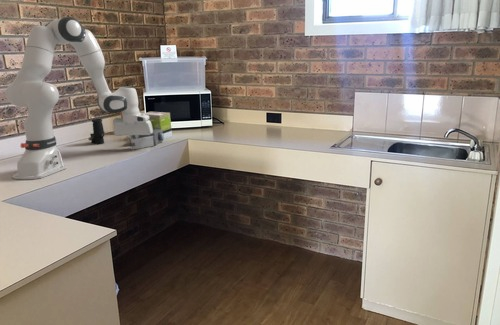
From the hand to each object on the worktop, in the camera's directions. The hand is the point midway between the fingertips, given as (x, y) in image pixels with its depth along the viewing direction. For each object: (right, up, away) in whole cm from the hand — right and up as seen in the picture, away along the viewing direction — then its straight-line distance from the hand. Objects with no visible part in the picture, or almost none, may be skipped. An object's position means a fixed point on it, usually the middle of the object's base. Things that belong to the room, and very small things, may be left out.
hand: (134, 143), depth 216 cm
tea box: (+6, +4, +24) cm, 25 cm away
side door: (+5, -2, +1) cm, 5 cm away
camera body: (+4, +1, +12) cm, 12 cm away
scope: (-25, +1, +17) cm, 30 cm away
